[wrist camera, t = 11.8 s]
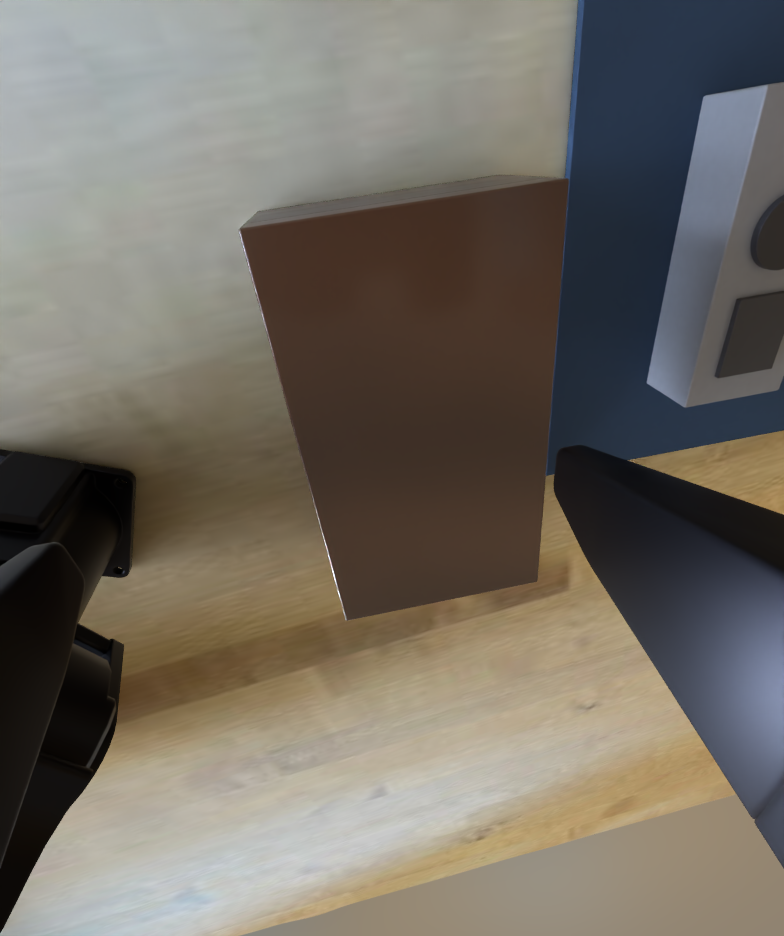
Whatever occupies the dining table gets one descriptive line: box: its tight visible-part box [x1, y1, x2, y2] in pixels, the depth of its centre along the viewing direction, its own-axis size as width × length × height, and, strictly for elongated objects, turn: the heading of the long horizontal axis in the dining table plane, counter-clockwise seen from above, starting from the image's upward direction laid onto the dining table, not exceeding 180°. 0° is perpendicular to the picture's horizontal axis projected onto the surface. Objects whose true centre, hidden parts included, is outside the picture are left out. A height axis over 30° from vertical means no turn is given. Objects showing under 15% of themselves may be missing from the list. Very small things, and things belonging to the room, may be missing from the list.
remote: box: [647, 82, 784, 407], centre depth 18 cm, size 11×4×3 cm, turn 7°
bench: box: [239, 175, 569, 621], centre depth 19 cm, size 16×9×6 cm, turn 7°
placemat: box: [546, 0, 784, 476], centre depth 20 cm, size 20×14×1 cm
